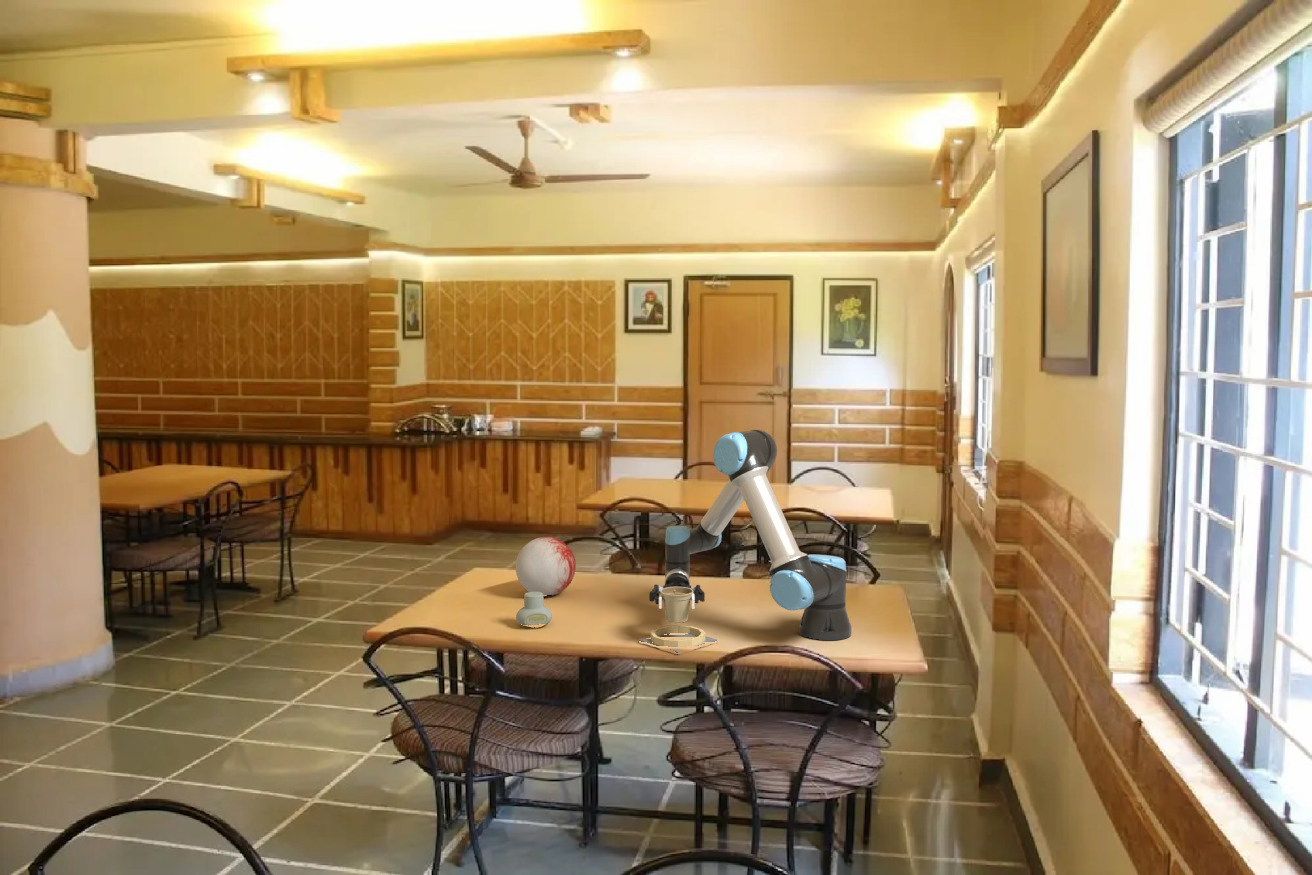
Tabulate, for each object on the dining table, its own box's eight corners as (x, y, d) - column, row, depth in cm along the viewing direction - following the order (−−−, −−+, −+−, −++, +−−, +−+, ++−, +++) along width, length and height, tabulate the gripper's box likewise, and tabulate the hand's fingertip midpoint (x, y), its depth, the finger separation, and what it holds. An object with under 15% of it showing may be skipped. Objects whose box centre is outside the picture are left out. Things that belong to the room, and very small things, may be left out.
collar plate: (717, 642, 296) (717, 632, 296) (677, 655, 285) (677, 644, 285) (678, 631, 307) (678, 621, 307) (638, 643, 297) (638, 632, 296)
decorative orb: (547, 585, 367) (545, 529, 365) (588, 593, 354) (587, 536, 352) (502, 597, 351) (501, 539, 349) (544, 606, 338) (543, 546, 336)
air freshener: (518, 631, 310) (517, 598, 309) (514, 623, 318) (513, 591, 317) (554, 627, 313) (553, 595, 312) (549, 620, 321) (549, 589, 320)
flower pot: (693, 625, 291) (693, 594, 290) (660, 624, 291) (660, 594, 290) (693, 615, 300) (693, 586, 300) (660, 615, 301) (660, 586, 300)
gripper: (712, 596, 313) (714, 617, 291) (642, 596, 314) (638, 616, 291) (712, 572, 312) (714, 590, 290) (641, 571, 313) (638, 590, 290)
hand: (676, 603), depth 291 cm, fingers closed on flower pot, 8 cm apart
